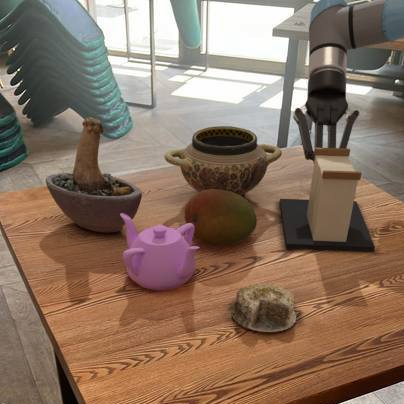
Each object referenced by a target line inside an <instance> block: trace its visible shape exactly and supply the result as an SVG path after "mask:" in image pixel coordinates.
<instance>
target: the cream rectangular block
mask: <svg viewBox="0 0 404 404" xmlns="http://www.w3.org/2000/svg"><path fill="white" fill-rule="evenodd" d="M313 151H314V150H313ZM350 154H351V149H350V148H339V147H336V148H327V147H323V148H315V151H314V155H315V161H314V163H313V167H312V168H313V169H312V176H311V183H310V190H309V197H308V200H309V203H308V210H307V218H308V222H309V226H310V228H311V222H312V215H313V208H314V201H315V195H316V188H317V181H318V174H319V168H320V167H351V168H354V166H353V165H352V162H351V160H350V158H349V157H350Z"/></svg>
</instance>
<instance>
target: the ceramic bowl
mask: <svg viewBox="0 0 404 404" xmlns="http://www.w3.org/2000/svg"><path fill="white" fill-rule="evenodd" d="M282 154H283V151H282V149H281V148H280V147H278V146H277V145H270V144H265V143H260V144H258V136H257V135H256V134H255V133H254V132H253V131H251V130H250V129H246V128H243V127H237V126H232V125H222V126H221V125H220V126H219V125H218V126H208V127H205V128H202V129H199V130H197V131H195V132H194V133H193V134H192V138H191V143H190V144H188V145H187V146H186V147H185V148H180V149H173V150H169V151H167V152H165V153H164V155H163V156H164V160H165V162H167V163H168V164H170V165H173V166H177V167H179V168H180V171H181V174H182V176H183V178H184V180H185V181H186V183H187V184H188V185H189V186H190V187H191V188H192V189H193V190H195V191H196V192H197V193H199V192H201V191H204V190H208V189H220V190H226V191H230V192H233V193H236V194H238V195H240V196H242V197H243V198H245V199H246V194H248V193H249V192H250V191H252V190H253V189H254V188H255V187H257V186H258V185H259V184H260V182H261V181H262V180H263V178H264V177H265V175H266V173H267V169H268V166H269V165H270V164H272V163H274V162H276V161H278V160H279V159H280V158H281V157H282Z"/></svg>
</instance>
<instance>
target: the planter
mask: <svg viewBox="0 0 404 404" xmlns="http://www.w3.org/2000/svg"><path fill="white" fill-rule="evenodd" d="M81 125H82V126H83V127H82V131H81V135H80V137H79V141H78V145H77V148H76V154H75V161H74V166H73V170H72V172H61V173H53V174H50V175H48V176H47V177H46V178H45V184H46V188H47V189H48V191H49V194H50V195H51V197H52V199H53V201H54V202H55V204H56V205H57V206H58V208H59V209H60V210H61V211H62V213H63V214H64V215H65V216H66V217H67V218H68V219H69V220H71V221H73V222H74V223H75V224H76V226H79V227H80V228H83V229H85V230H89V231H92V232H97V233H105V234H106V233H108V234H111V233H117V232H120V231H121V230H123V228H124V226H126V224H125V222H124V220H123V218H122V217H121V216H120V213H124V214H126V215H128V216H129V217H130V218H131V220H132V221H133V220H134V218H135V217H136V215H137V213H138V210H139V208H140V205H141V202H142V197H143V191H142V189H140V188H139V187H138V186H137V185H135V184H134V183H132V182H130V181H127V180H125V179H122V178H119V177H116V176H113V175H111V173H109V172H104V173H102V171H101V169H100V166H99V149H100V140H101V134H102V133H104V126H103V124H102V121H101V120H100V119H98V118H95V117H92V116H88V117H85V119H84V120H83V121H82V123H81Z"/></svg>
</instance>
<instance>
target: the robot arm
mask: <svg viewBox="0 0 404 404" xmlns="http://www.w3.org/2000/svg"><path fill="white" fill-rule="evenodd" d="M348 5H349V4H348V3H347V1H346V0H317V1H316V2H315V4H314V5H313V6H312V7H311V11H310V20H309V25H308V26H309V27H308V69H307V70H308V72H307V96H306V97H307V98H306V101H305V104H304V106H303V107H301V108H300V107H296V108H295V109H294V112H293V116H292V117H293V120H294V121H295V123H296V125H297V126H298V131H299V135H300V141H301V145H302V151H303V155H304V159H305V160H306V161H312V163H313V164H314V161H315V155H314V151H315V148H324V147H323V146H324V126H326V128H327V147H326V148H337V125H338V123H339V121H340V120H341V119H342V118H343V116H344V115H345V118H344V120H345V126H344V129H343V132H342V136H341V139H340V144H339V146H338V148H346V149H348V144H349V141H350V138H351V137H350V136H351V134H352V130H353V127H354V124H355V123H356V121H357V120H358V118H359V116H360V111H359V109H355V110H353V109H352V108H350V107H349V103H348V101H347V78H346V77H347V68H348V67H347V66H348V65H347V61H348V60H347V59H348V51H350V50H356V49H358V48H364V47H370V46H374V45H379V44H380V45H381V44H384V43H394V42H395V41H398V40H402V39H404V0H371V1H367V2H364V3H360V4H356V5H349V6H348ZM307 116H308V117H309V118H310V120H311V121H312V123H313V124H314V147H313V144H312V139H311V134H310V129H309V126H308V122H307Z"/></svg>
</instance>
